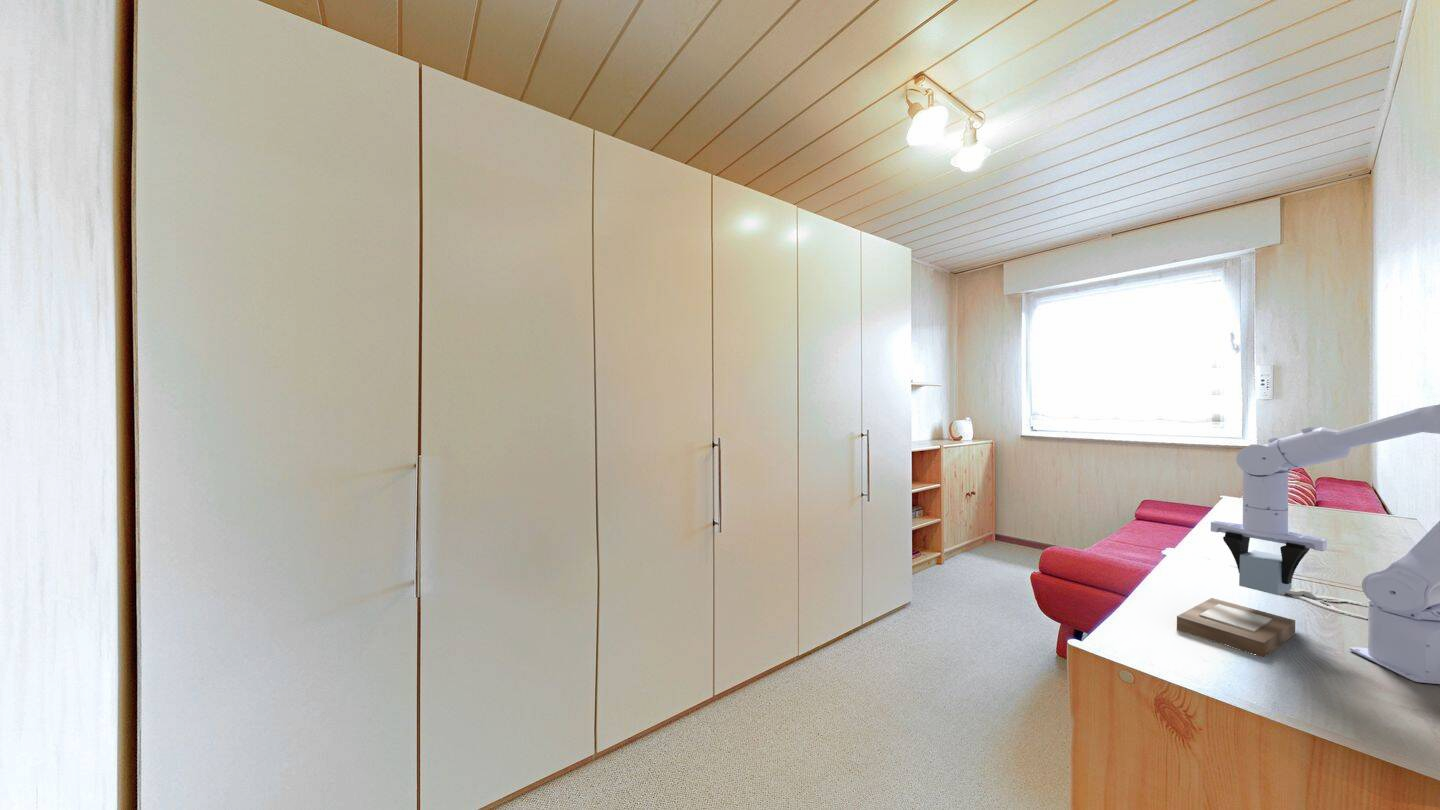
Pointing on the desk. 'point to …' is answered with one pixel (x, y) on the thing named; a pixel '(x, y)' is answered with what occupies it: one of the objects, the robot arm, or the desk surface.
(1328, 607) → the pliers
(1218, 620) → the stand
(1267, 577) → the block
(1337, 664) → the desk surface
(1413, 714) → the desk surface
